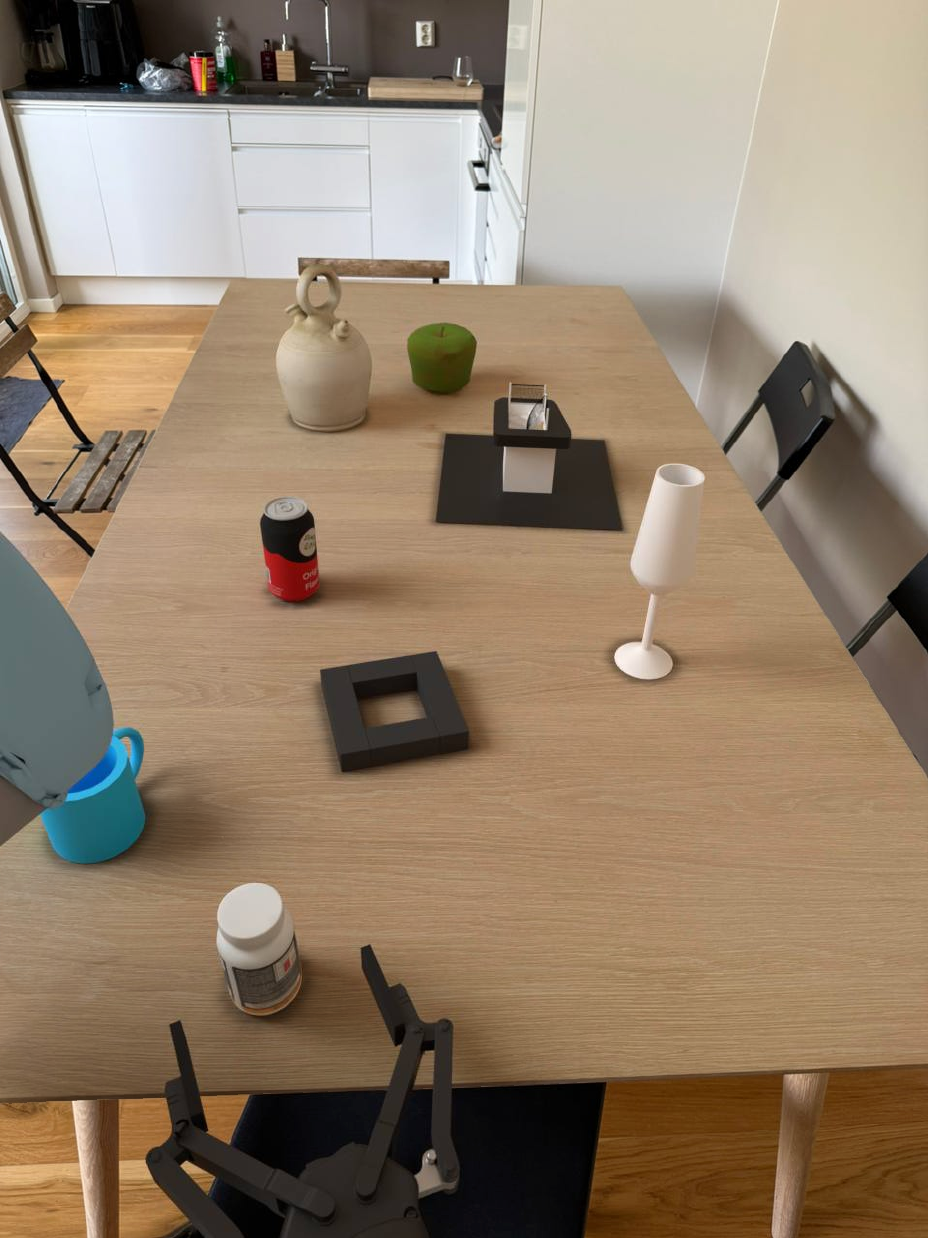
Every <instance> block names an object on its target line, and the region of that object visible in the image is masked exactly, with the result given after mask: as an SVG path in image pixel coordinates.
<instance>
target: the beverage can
mask: <svg viewBox="0 0 928 1238" xmlns="http://www.w3.org/2000/svg"><path fill="white" fill-rule="evenodd" d="M315 524H316V523H315V518H314V515H313V513H312V511H310V509H309V506H308V503H307V501H305V500H303V499H302V498H299V497H295V496H281V497H277V498H274V499H271V500H269V501H267V502H266V504H264V506H263V513H262V516H261V517H260V521H259V526H260V535H261V542H262V549H263V557H264V566H265V572H266V580H267V587H268V591H269V592H270V593H271V594H272V595H273V596H274V597H275V598H277V599H279V600H282V601H284V602H290V603H292V602H293V603H294V602H295V603H296V602H301V601H304V600H306V599H308V598H310V597H311V596H313V595H314V594H315V593H316V592H317V590H318V589H319V587H320V582H321V581H320V570H319V560H318V559H319V558H318V547H317V546H318V545H317V537H316V526H315Z"/></svg>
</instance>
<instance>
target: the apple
mask: <svg viewBox="0 0 928 1238" xmlns="http://www.w3.org/2000/svg"><path fill="white" fill-rule="evenodd" d="M406 340H407V343H406V349H407V354H408V359H409V365H410V370H411V379H412V383H413V384H414V385H416V386H417V387H418V388H421V389H423V390H425V391H426V392H429V393H430V394H431V393H432V394H435V395H440V396H441V395H444V396H446V395H447V396H448V395H452V394H455V393H457V392H459V391H460V390H462V389H463V388H465V387H466V386H467V385H468V384H469V383H470V381H471V377H472V372H473V366H474V361H475V359H476V355H477V354H476V352H477V344H478V341H477V339H476V337H475V336H474V334H473V333H472V332H471V330H469V329H468V328H466V327H465V326H462V325H459V324H457V323H451V322H436V323H431V324H427V325H426V324H425V325H423V326H420V327H417V328H416V329H415V330H413V332H411V333H410V334H409V336H408V337H407V339H406Z"/></svg>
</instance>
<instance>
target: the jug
mask: <svg viewBox="0 0 928 1238" xmlns="http://www.w3.org/2000/svg"><path fill="white" fill-rule="evenodd" d="M319 275H322V276H324V278H325V279H326V282H327V283H328V294H327V298H326V300H325V301H324V302H323V303H322V304H321V305H318V306H314V305H312V303H311V302H310V298H309V289H310V286H311V283H312V281H314V279H315V278H316V277H317V276H319ZM295 288H296V289H295V294H296V295H295V296H296V299H297V302H295V303H292V304H290V305H289V306H287V307H286V308H285V313H286V314H288V315H289V316H290V317H291V318H292V319H293V325H292V326H291V327H289V328H288V329H287V330H286V331H285V332H284V334H283V335H282V337H281V339H280V341H279V344H278V346H277V351H276V354H275V355H276V357H275V366H276V373H277V376H278V381H279V385H280V388H281V392H282V394H283V398H284V400H285V403H286V406H287V410H288V412H289V413H290V416H291V419H292V421H293V423H295V424H296V426H298V427H301V428H303V429H305V430H310V431H316V432H326V433H327V432H340V431H347V430H349V429H352V428H354V427H356V426H358V425H360V424H361V423H362V422H363V421H364V419H365V417H366V410H367V406H368V401H369V396H370V388H371V381H372V380H371V379H372V372H373V362H372V361H373V360H372V355H371V351H370V348H369V345H368V343H367V341H366V339H365V338H364V335H363V334H362V333H361V331H360V330H358V329H357V328H356V327H355V326H353V325H352V324H351V323H350V322H349V321H348V320H347V319H340V318H337V317H336V315H335V311H336V309H337V307H339V304H340V302H341V299H342V284H341V281H340V278H339V276H338V274H337V273H336V272H335V271H334V270H333V268H331V267H329V266H327V265H325V264H323V263H313V264H311V265H309V266H308V267H306V268H305V269H304V270H303V271H302V273H301V274H300V275H299V277H298V280H297V283H296V287H295Z"/></svg>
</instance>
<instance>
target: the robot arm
mask: <svg viewBox="0 0 928 1238" xmlns="http://www.w3.org/2000/svg"><path fill="white" fill-rule="evenodd" d="M81 633H82V632H80V630H79V628H78V626H77V625H76V623H75V621H74V620H73V619H72V617H71V616H70V614H69V613H68V611H67V610H66V609H65V607H64V605H63V604H62V603H61V601H60V600H59V598H58V597H57V596H56V594H55V593H54V591H53V590H52V589H51V588H50V586H49V585H48V584H47V583H46V581H45V580H44V579H43V577H42V576H41V575H40V574H39V572H38V570H36V569H35V567H34V566H33V565H32V564H31V562H29V561H28V560H27V559H26V557H25V556H24V554H23V553H22V552H21V551H20V550H19V548H17V546H16V545H14V543H13V542H12V541H10V539H9V538H8V537H7V536H6V535H5V534H4V533H3V532H2V531H0V847H2V846H3V845H4V844H5V843H6V842H8V841H9V840H10V839H11V838H13V837H14V836H15V835H17V834H18V833H19V832H20V831H21V830H23V829H24V828H26V826H28V825H29V824H30V823H31V822H33V820H35V819H36V818H37V817H39V816H40V814H41V813H42V812H43V811H45V810H46V809H47V808H49V809H51V810H54V809H55V808H57V807H58V806H60V805H61V804H63V803H64V802H65V801H66V798H67V792H68V790H69V789H70V788H71V787H72V786H74V785H75V784H76V783H77V782H78V781H79V780H80V779H81V778H83V777H84V776H85V775H86V774H87V773H88V772H89V771H91V770H92V769H93V768H94V767H95V766H96V765H97V764H98V763H99V762H100V761H101V760H102V759H103V757H104V756H105V754H106V753H107V751H108V749H109V747H110V744H111V741H112V736H113V731H114V727H115V723H114V722H115V721H114V720H115V719H114V712H113V706H112V701H111V697H110V693H109V691H108V687H107V684H106V682H105V680H104V679H103V676H102V674H101V672H100V669H99V668H98V665H97V663H96V659H95V657H94V655H93V654H92V651H91V650H90V648H89V646H88V643H87V642H86V640H85V638H84V637H83V635H82V634H81ZM359 949H360V960H361V961H360V962H361V970H362V972H363V975H364V977H365V979H366V982H367V984H368V987H369V989H370V991H371V993H372V996H373V999H374V1000H375V1003H376V1006H377V1008H378V1011H379V1012H380V1015H381V1017H382V1020H383V1022H384V1024H385V1027H386V1029H387V1032H388V1034H389V1036H390V1038H391V1041H392V1043H393V1046H394V1048H397V1047H398V1046H401V1047H400V1049H399V1053H398V1056H397V1059H396V1061H395V1064H394V1068H393V1071H392V1075H391V1078H390V1081H389V1085H388V1087H387V1090H386V1094H385V1097H384V1100H383V1103H382V1105H381V1106H382V1107H381V1109H380V1112H379V1115H378V1118H377V1120H376V1122H375V1124H374V1127H373V1129H372V1133H371V1137H370V1140H369V1143H368V1144H364V1143H363V1144H362V1143H356V1142H355V1141H352V1142H350V1143H348V1144H345V1145H344V1146H343V1145H342V1147H340V1148H339V1149H338V1150H337V1151H336V1152H335V1153H333V1154H332V1155H331V1156H325V1157H321V1158H316V1159H314V1160H313V1161H310V1162H308V1163H306V1164H305V1169H303V1171H301V1173H300V1174H299V1175H298V1177H295V1176H294V1175H292V1174H290V1173H287V1172H285V1170H282V1169H281V1168H273V1167H272V1166H269V1165H267V1164H266V1163H264V1162H262V1161H260V1160H258V1159H257V1158H255V1157H252V1156H251V1155H249V1154H247V1153H245V1152H243V1151H242V1150H239V1149H238V1148H236V1147H235V1146H232V1145H230V1144H228V1143H226V1142H225V1141H223V1140H221V1139H220V1138H217V1137H216V1136H214V1135H212V1134H211V1133H208V1132H209V1127H208V1123H207V1118H206V1115H205V1111H204V1106H203V1101H202V1098H201V1094H200V1089H199V1085H198V1081H197V1077H196V1072H195V1068H194V1065H193V1064H194V1063H193V1061H192V1060H193V1059H192V1056H191V1051H190V1047H189V1044H188V1039H187V1036H186V1032H185V1030H184V1027H183V1023H182V1021H181V1020H176V1021H174V1022H172V1023H169V1024H168V1026H169V1030H170V1036H171V1038H172V1044H173V1049H174V1053H175V1057H176V1062H177V1065H178V1070H179V1074H180V1075H179V1076H178V1077H174V1078H173V1079H171V1080H168V1081H166V1082H165V1085H164V1087H165V1088H164V1094H165V1100H166V1105H167V1109H168V1114H169V1118H170V1124H171V1131H170V1132H171V1133H170V1135H169V1137H168V1138H167V1139H166V1140H165V1141H163V1143H162V1144H160V1146H155V1147H151V1149H149V1150H148V1152H147V1153H146V1155H145V1158H144V1159H145V1164H146V1167H147V1169H148V1171H149V1173H150V1176H151V1177H152V1180H153V1181H154V1183H155V1184H156V1185H157V1187H159V1189H160V1190H161V1191H162V1192H163V1193H164V1195H166V1197H167V1198H168V1199H169V1200H170V1201H171V1202H172V1203H173V1204H174V1205H175V1206H176V1208H178V1210H180V1212H181V1213H182V1214H183V1215H184V1216H185V1217H186V1219H188V1221H189V1222H190V1223H191V1224H192V1225H193V1226H194V1227H195V1229H196V1230H198V1232H199V1233H200V1234H201V1235H202V1236H203V1237H204V1238H245V1237H244V1235H243V1233H242V1232H241V1229H240V1228H239V1227H238V1226H237V1225H236V1224H235V1222H233V1220H232V1219H231V1218H230V1217H229V1216H228V1215H227V1214H226V1213H225V1212H224V1211H223V1210H222V1208H220V1207H219V1206H218V1204H217V1203H216V1202H215V1201H214V1200H213V1199H212V1198H211V1197H210V1196H209V1195H208V1194H207V1193H206V1192H205V1190H204V1189H203V1188H201V1186H200V1185H199V1184H198V1183H197V1182H196V1181H195V1180H194V1179H193V1178H192V1177H191V1175H189V1173H187V1172H186V1170H185V1169H184V1168H183V1167H182V1165H183V1164H184V1163H186V1162H188V1163H189V1164H191V1165H193V1166H195V1167H197V1168H198V1169H200V1170H202V1171H203V1172H206V1173H207V1174H209V1175H211V1176H213V1177H215V1178H216V1179H218V1180H220V1181H222V1182H224V1183H225V1184H227V1185H229V1186H231V1187H232V1188H234V1189H236V1190H237V1191H240V1192H241V1193H244V1194H245V1195H247V1196H248V1197H250V1198H253V1199H254V1200H256V1201H258V1202H259V1203H261V1204H263V1205H264V1206H266V1207H267V1208H269V1210H270V1211H272V1212H273V1213H274V1214H276V1215H278V1216H280V1217H282V1218H283V1219H284V1221H283V1224H282V1227H281V1231H280V1234H279V1237H278V1238H430V1235H429V1233H428V1230H427V1228H426V1226H425V1223H424V1220H423V1217H422V1215H421V1211H420V1207H419V1201H420V1199H421V1198H424V1197H427V1196H430V1195H432V1194H435V1193H437V1192H440V1191H442V1192H443V1193H444V1194H446V1195H453V1194H454V1193H456V1192H457V1190H458V1189H459V1187H460V1173H461V1166H460V1160H459V1157H458V1154H457V1151H456V1148H455V1144H454V1142H453V1139H452V1135H451V1134H452V1133H451V1132H452V1096H453V1095H452V1094H453V1056H454V1055H453V1054H454V1053H453V1052H454V1051H453V1050H454V1024H453V1022H452V1020H450V1019H449V1018H445V1017H443V1018H440V1019H439V1020H437V1022H425V1021H423V1020H422V1019H421V1018H420V1016H419V1014H418V1012H417V1010H416V1008H415V1006H414V1004H413V1001H412V999H411V997H410V995H409V992H408V990H407V988H406V987H405V986H404V985H403V983H401V982H399V983H397V984H394V985H392V986H389V984H388V982H387V979H386V977H385V974H384V972H383V970H382V967H381V965H380V963H379V961H378V958H377V956H376V954H375V952H374V950H373V947H372V945H371V943H368V944H366V945H364V946H361V947H360V948H359ZM430 1051H431V1052H432V1051H434V1052H433V1053H434V1054H433V1079H432V1106H431V1107H432V1108H431V1130H430V1131H431V1132H430V1135H431V1136H430V1141H431V1142H430V1149H428V1150H426V1151H425V1152H424V1153H423V1155H422V1158H421V1160H422V1162H421V1169H420V1171H419V1172H417V1173H416V1174H414V1173H413V1172H411V1171H410V1170H409V1169H408V1168H406V1167H404V1166H402V1165H401V1164H399V1163H398V1162H396V1161H395V1160H394V1158H395V1154H396V1151H397V1150H396V1149H397V1145H398V1140H399V1137H400V1134H401V1130H402V1127H403V1124H404V1120H405V1116H406V1113H407V1110H408V1107H409V1103H410V1100H411V1097H412V1093H413V1091H414V1090H413V1089H414V1086H415V1083H416V1080H417V1077H418V1073H419V1069H420V1066H421V1063H422V1061H423V1060H422V1059H423V1056H425V1054H426V1053H425V1052H430Z"/></svg>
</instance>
